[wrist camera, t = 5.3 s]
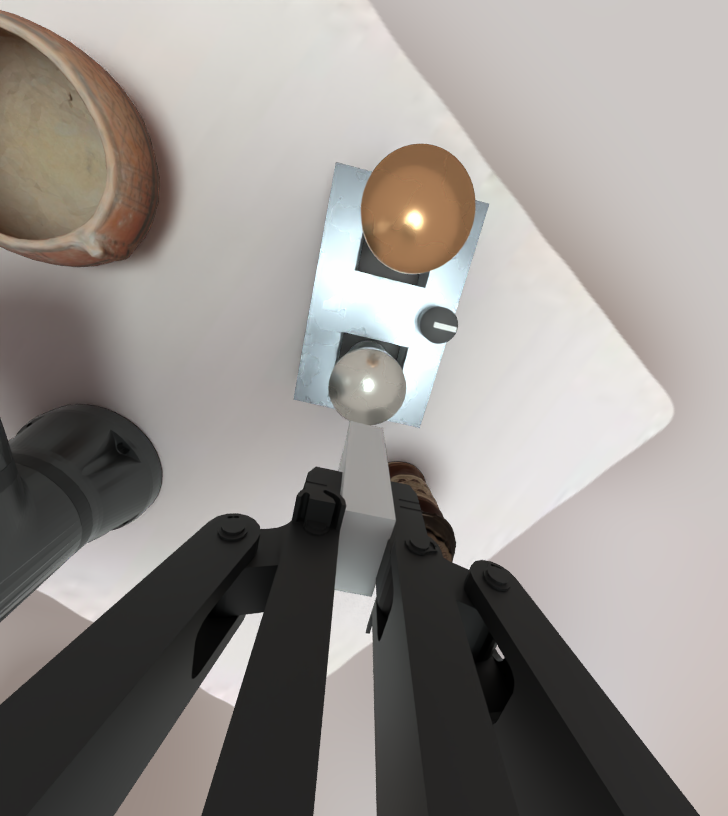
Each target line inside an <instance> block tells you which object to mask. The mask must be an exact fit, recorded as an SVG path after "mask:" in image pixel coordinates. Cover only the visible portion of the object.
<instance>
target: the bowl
mask: <svg viewBox="0 0 728 816" xmlns="http://www.w3.org/2000/svg"><path fill="white" fill-rule="evenodd" d="M159 179H160V177H159V173H158V168H157V164H156V160H155V154H154V150H153V148H152V143H151V140H150V138H149V135H148V132H147V129H146V127H145V124H144V121H143V119H142V118H141V116H140V114H139V113H138V111H137V109H136V108H135V106H134V104H133V103H132V102H131V100H130V99H129V97H128V96H127V95H126V93H125V92H124V91H123V89H122V88H121V87H120V85H119V84H118V83H117V82H116V81H115V80H114V79H113V78H112V77H111V76H110V75H109V73H108V72H107V71H105V70H104V69H103V68H102V67H101V66H100V65H99V64H98V63H97V62H95V61H94V60H93V59H92V58H90V57H89V56H88V55H87V54H86V53H84V52H83V51H82V50H81V49H79V48H78V47H76V46H75V45H74V44H72V43H71V42H69V41H68V40H66V39H64V38H62V37H61V36H59V35H57V34H56V33H54V32H52V31H50V30H48V29H46V28H44V27H42V26H40V25H38V24H36V23H34V22H32V21H30V20H27V19H25V18H23V17H20V16H18V15H16V14H12V13H9V12H5V11H2V10H0V247H2V248H4V249H6V250H9V251H11V252H14V253H16V254H19V255H22V256H24V257H27V258H30V259H32V260H36V261H41V262H45V263H49V264H54V265H61V266H71V267H88V266H98V265H102V264H106V263H110V262H113V261H120V260H124V259H127V258H129V257H130V255H131V254H132V252H133V251H134V250H135V249H136V247H137V246H138V245H139V244H140V242H141V241H142V240H143V239H144V238H145V236H146V235H147V233H148V232H149V230H150V227H151V225H152V223H153V219H154V216H155V212H156V208H157V205H158V202H159Z"/></svg>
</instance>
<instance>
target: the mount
mask: <svg viewBox="0 0 728 816" xmlns="http://www.w3.org/2000/svg"><path fill="white" fill-rule="evenodd" d="M371 173H372V172H371V171H367V170H363V169H360V168H356V167H352V166H349V165H345V164H341V163H338V162H336V165H335V171H334V176H333V182H332V188H331V193H330V199H329V204H328V210H327V215H326V221H325V227H324V232H323V238H322V243H321V249H320V254H319V260H318V266H317V271H316V277H315V282H314V288H313V294H312V299H311V305H310V310H309V316H308V321H307V327H306V333H305V338H304V344H303V349H302V355H301V361H300V366H299V372H298V377H297V383H296V388H295V394H294V400H299V401H303V402H308V403H312V404H316V405H321V406H325V407H330V408H334V406H333V404H332V402H331V400H330V396H329V390H328V385H329V379H330V375H331V373H332V371H333V368H334V366H335V365H336V363H337V362H338V359H339V354H340V350H341V345H342V340H343V336H344V332H346V333H351V334H355V335H359V336H363V337H367V338H371V339H375V340H380V341H384V342H388V343H392V344H396V345H400V350H399V353H398V357H397V362H398V363H399V365H400V367H401V369H402V371H403V373H404V376H405V380H406V395H405V399H404V402H403V404H402V406H401V407H400V409H399V410H398V411H397V413H396V414H395V415H393V416H392V417H391V418H390V419H388V420H387V421H392V422H396V423H400V424H405V425H409V426H414V427H418V428H420V425H421V422H422V419H423V416H424V412H425V409H426V406H427V403H428V399H429V396H430V393H431V390H432V387H433V383H434V380H435V377H436V374H437V371H438V367H439V364H440V361H441V358H442V354H443V351H444V348H445V345H446V343H442V344H435V343H432V342H430V341H428V340H427V339H426V338H425V337H424V336H422V334H421V333H420V332H419V329H418V318H419V316H420V314H421V313H422V311H424V310H425V309H426V308H428V307H431V306H440V307H444V308H448V309H450V310H451V311H452V312H453V313H454V314H455V313H456V309H457V306H458V303H459V300H460V297H461V293H462V290H463V287H464V284H465V280H466V277H467V274H468V271H469V268H470V264H471V261H472V258H473V255H474V252H475V248H476V245H477V242H478V239H479V235H480V232H481V229H482V226H483V223H484V219H485V216H486V213H487V210H488V207H489V204H488V203H484V202H481V201H477V200H475V217H474V222H473V226H472V229H471V232H470V234H469V236H468V238H467V240H466V242H465V244H464V245H463V247H462V248H461V249H460V251H459V252H458V253H457V254H456V255H455V256H454V257H453V258H452V259H451V260H450V261H448V262H447V263H446V264H444V265H442V266H441V267H439V268H437V269H434V270H431V271H428V272H425V273H420V276H419V279H418V283H417V286H414V285H410V284H406V283H402V282H398V281H394V280H390V279H386V278H382V277H379V276H375V275H371V274H367V273H363V272H359V271H357V270H358V266H359V261H360V256H361V252H362V247H363V242H364V238H365V237H364V234H363V229H362V223H361V202H362V196H363V192H364V188H365V186H366V183H367V181H368V179H369V177H370V175H371ZM334 409H335V408H334Z"/></svg>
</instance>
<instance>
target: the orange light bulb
mask: <svg viewBox="0 0 728 816" xmlns="http://www.w3.org/2000/svg"><path fill="white" fill-rule="evenodd" d="M474 217H475V193H474V189H473V184H472V182H471V179H470V177H469V175H468V173H467V171H466V169H465V168H464V166H463V165H462V164H461V162H460V161H459V160H458V159H457V158H456V157H455V156H453V155H452V154H451V153H450V152H448V151H446V150H444V149H443V148H440V147H437V146H434V145H429V144H412V145H408V146H404V147H402V148H400V149H397V150H395V151H394V152H392V153H390V154H389V155H388V156H386V157H385V158H384V159H383V160H382V161H381V162H380V163H379V164H378V165H377V166H376V168H375V169H374V171H373V172H372V173H371V175H370V177H369V179H368V181H367V183H366V186H365V188H364V192H363V196H362V202H361V223H362V229H363V234H364V237H365V240H366V242H367V244H368V247H369V248H370V250H371V251H372V253H373V254H374V256H375V257H376V258H377V259H378V260H379V261H380V262H381V263H382V264H384V265H385V266H387V267H388V268H390V269H392V270H394V271H397V272H400V273H405V274H420V273H425V272H428V271H431V270H434V269H437V268H439V267H441V266H442V265H444V264H446V263H447V262H448V261H450V260H451V259H452V258H453V257H454V256H455V255H456V254H457V253H458V252H459V251H460V249H461V248H462V247H463V245H464V244H465V242H466V240H467V238H468V236H469V234H470V232H471V229H472V226H473V222H474Z"/></svg>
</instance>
